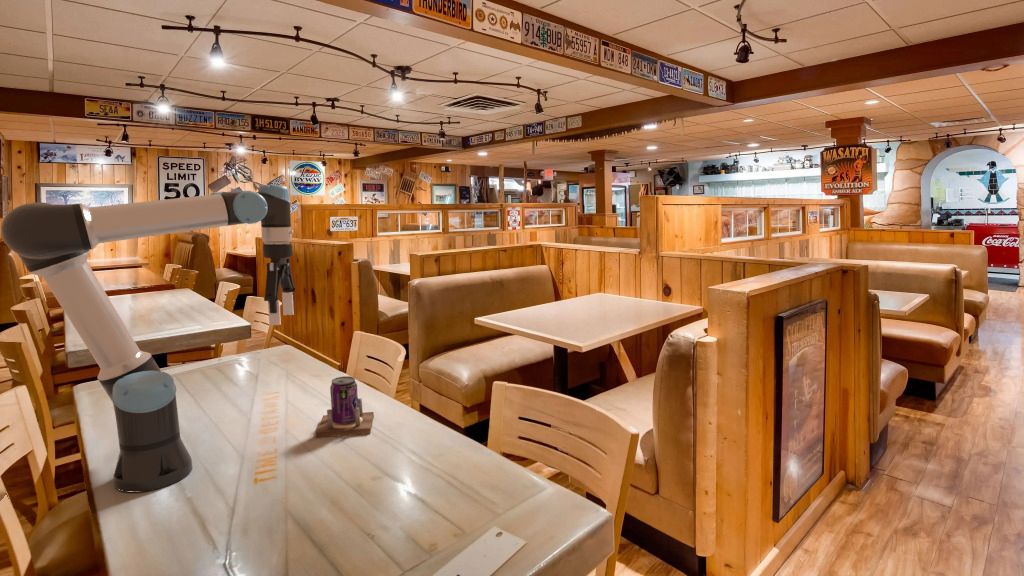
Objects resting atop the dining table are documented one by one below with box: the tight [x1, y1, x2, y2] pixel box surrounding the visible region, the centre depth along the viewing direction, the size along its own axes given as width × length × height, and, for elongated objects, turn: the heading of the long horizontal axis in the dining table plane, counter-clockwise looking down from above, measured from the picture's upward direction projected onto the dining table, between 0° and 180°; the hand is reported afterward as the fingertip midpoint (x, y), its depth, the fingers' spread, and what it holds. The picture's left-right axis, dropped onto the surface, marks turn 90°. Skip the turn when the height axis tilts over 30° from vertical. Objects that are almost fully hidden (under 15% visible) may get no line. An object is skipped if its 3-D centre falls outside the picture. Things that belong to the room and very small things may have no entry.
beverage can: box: [329, 375, 359, 425], centre depth 154 cm, size 7×7×12 cm
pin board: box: [315, 397, 375, 439], centre depth 155 cm, size 12×14×6 cm
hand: (282, 319), depth 155 cm, fingers open, 13 cm apart
